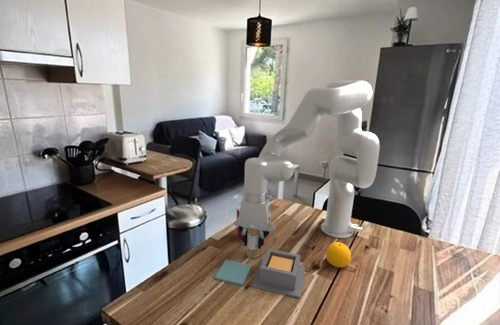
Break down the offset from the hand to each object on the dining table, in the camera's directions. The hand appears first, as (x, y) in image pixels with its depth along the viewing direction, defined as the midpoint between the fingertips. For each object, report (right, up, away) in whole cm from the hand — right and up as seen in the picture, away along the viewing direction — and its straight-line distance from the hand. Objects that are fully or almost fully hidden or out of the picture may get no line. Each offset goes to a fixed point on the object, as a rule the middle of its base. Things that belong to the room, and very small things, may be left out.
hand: (253, 244), depth 91 cm
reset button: (+8, -4, -10) cm, 14 cm away
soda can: (-3, -1, +12) cm, 12 cm away
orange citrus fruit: (+28, -6, -2) cm, 29 cm away
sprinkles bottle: (0, -4, +1) cm, 4 cm away
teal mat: (-6, -6, -8) cm, 12 cm away
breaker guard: (+8, -7, -9) cm, 14 cm away
